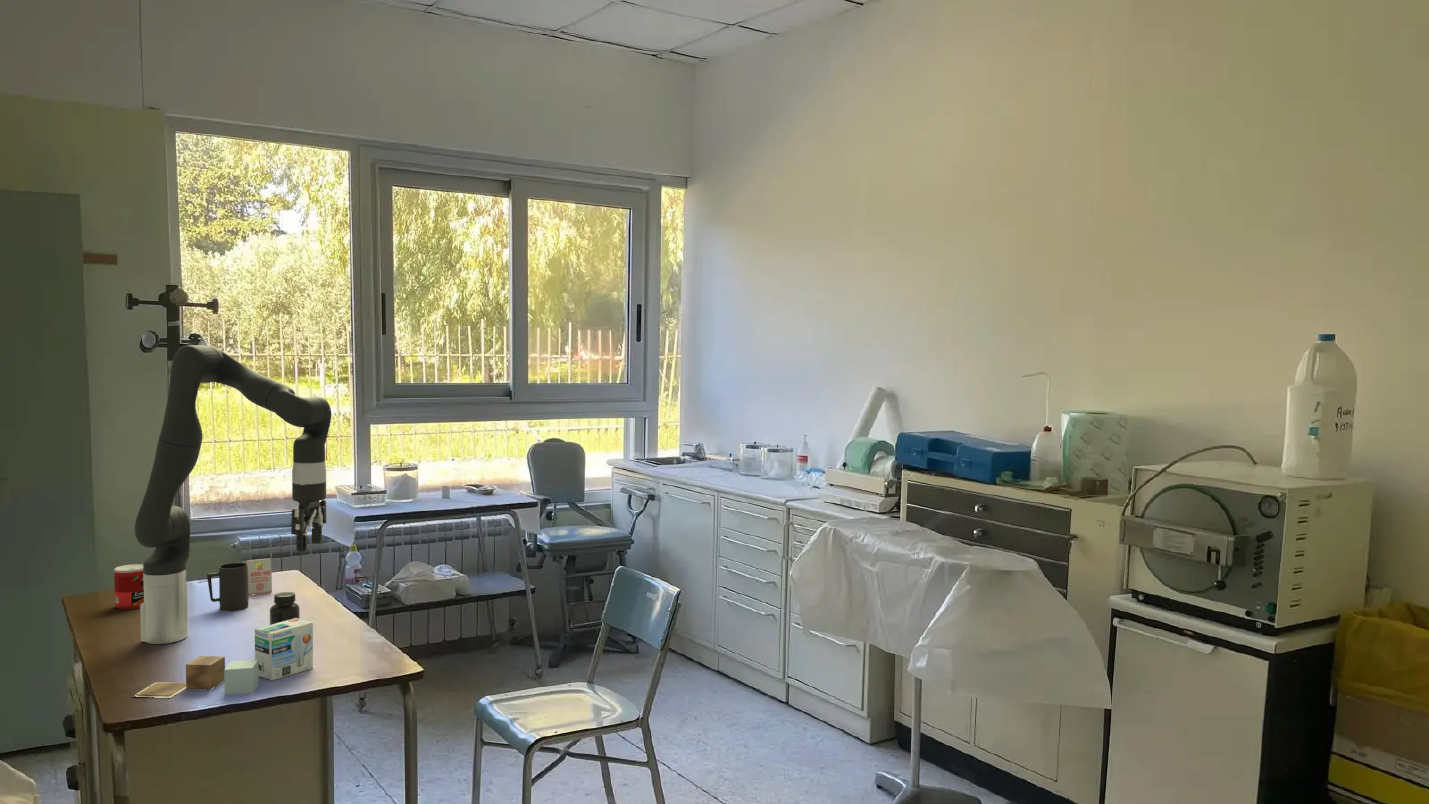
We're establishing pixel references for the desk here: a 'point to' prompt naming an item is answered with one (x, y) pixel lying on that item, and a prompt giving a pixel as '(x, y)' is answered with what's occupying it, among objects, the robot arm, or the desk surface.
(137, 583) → the canned food
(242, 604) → the mug
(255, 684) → the pale green cube
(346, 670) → the desk surface
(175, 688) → the swatch
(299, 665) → the light bulb box
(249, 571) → the beige rectangular box
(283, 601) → the supplement bottle
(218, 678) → the walnut block
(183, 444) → the robot arm
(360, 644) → the desk surface
